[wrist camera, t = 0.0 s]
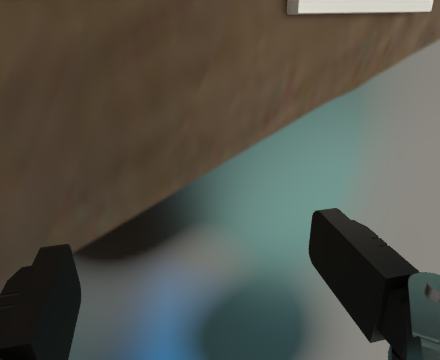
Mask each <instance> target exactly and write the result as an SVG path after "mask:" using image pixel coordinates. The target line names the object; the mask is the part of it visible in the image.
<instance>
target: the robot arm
mask: <svg viewBox="0 0 440 360" xmlns="http://www.w3.org/2000/svg"><path fill="white" fill-rule="evenodd" d="M309 256H310V259H311V262H312V264H313V266H314V267H315V269H316V270H317V271H318V273H319V274H320V275H321V277H322V278H323V279H324V281H325V282H326V283H327V285H328V286H329V288H330V289H331V290H332V292H333V293H334V294H335V296H336V297H337V298H338V299H339V301H340V302H341V304H342V305H343V307H344V308H345V309H346V311H347V312H348V313H349V315H350V316H351V317H352V319H353V320H354V321H355V323H356V324H357V325H358V327H359V328H360V330H361V331H362V332H363V333H364V335H365V336H366V338H367V339H368V341H369V342H370V343H372V342H376V341H380V340H385V339H386V340H387V342H388V343H389V344H390V347H389V350H388V360H440V275H438V274H435V273H427V272H419V271H418V270H417V269H416V268H414V267H413V266H412V265H411V264H410V263H409V262H408V261H406V260H405V259H404V258H403V257H402V256H401V255H399V254H398V253H397V252H396V251H395V250H394V249H392V248H391V247H390V246H387V243H385V242H384V241H383V240H382V239H381V238H378V236H377V235H376V234H375V233H374V232H373V231H372V230H370V229H369V228H368V227H366V226H364V225H362V224H360V223H358V222H356V221H354V220H350V219H349V218H348V217H347V216H346V215H345V214H343V213H342V212H341V211H340V210H339V209H337V208H333V209H326V210H318V211H315V212H314V213H313V216H312V223H311V232H310V241H309ZM80 304H81V286H80V281H79V277H78V273H77V269H76V266H75V262H74V258H73V254H72V250H71V247H70V245H69V244H63V245H56V246H48V247H42V248H40V249H39V251H38V253H37V255H36V258H35V260H34V262H33V264H32V266H27V267H22V268H21V269H20V270H18V271H17V272H16V273H15V274H14V275H13V276H12V277H11V278H10V279H9V280H8V281H7V283H6V284H5V286H4V288H3V290H2V292H1V294H0V360H68V358H69V353H70V349H71V344H72V340H73V336H74V331H75V327H76V322H77V317H78V313H79V309H80Z"/></svg>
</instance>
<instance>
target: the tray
mask: <svg viewBox="0 0 440 360" xmlns="http://www.w3.org/2000/svg"><path fill="white" fill-rule="evenodd" d="M432 4H433V0H287V15H293V14H361V13H415V12H429V11H431V9H432Z"/></svg>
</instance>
